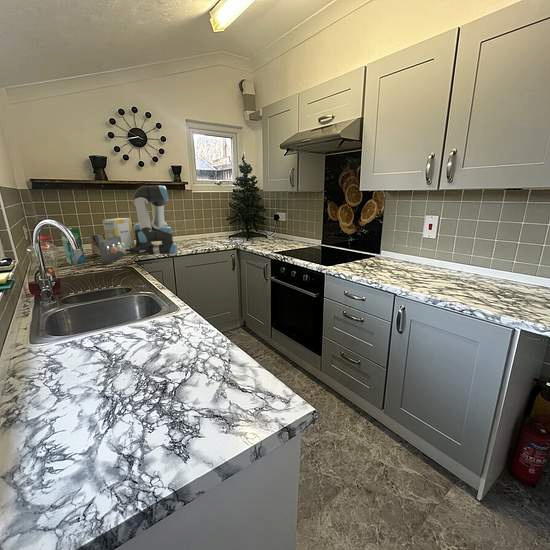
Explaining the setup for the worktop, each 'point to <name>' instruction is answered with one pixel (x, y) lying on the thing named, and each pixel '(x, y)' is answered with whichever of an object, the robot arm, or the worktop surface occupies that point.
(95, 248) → the coffee box
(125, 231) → the pasta box
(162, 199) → the robot arm
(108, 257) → the button panel
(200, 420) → the worktop surface
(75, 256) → the milk carton
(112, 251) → the terracotta button
